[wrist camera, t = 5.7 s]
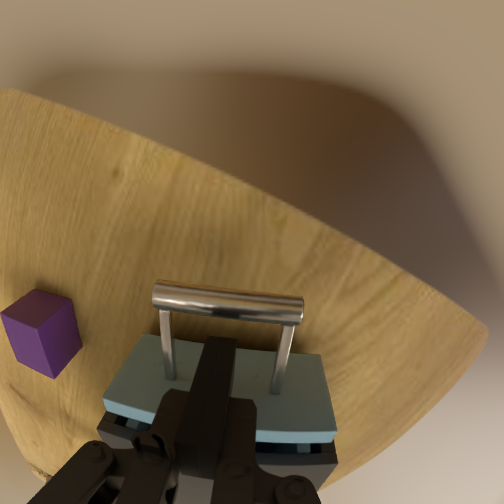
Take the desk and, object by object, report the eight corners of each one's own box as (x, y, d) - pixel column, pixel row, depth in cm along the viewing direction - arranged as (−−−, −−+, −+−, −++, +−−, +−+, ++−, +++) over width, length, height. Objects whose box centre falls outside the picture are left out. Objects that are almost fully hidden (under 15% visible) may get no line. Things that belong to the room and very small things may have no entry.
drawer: (136, 249, 16) (73, 298, 10) (341, 272, 16) (381, 336, 10) (164, 445, 23) (148, 495, 16) (282, 460, 23) (283, 513, 16)
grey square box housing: (143, 346, 20) (95, 428, 12) (319, 368, 20) (338, 463, 11) (165, 451, 25) (147, 510, 17) (282, 466, 25) (283, 528, 16)
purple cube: (71, 298, 19) (35, 328, 14) (82, 347, 21) (54, 380, 16) (34, 288, 19) (-1, 312, 14) (45, 333, 21) (17, 361, 16)
